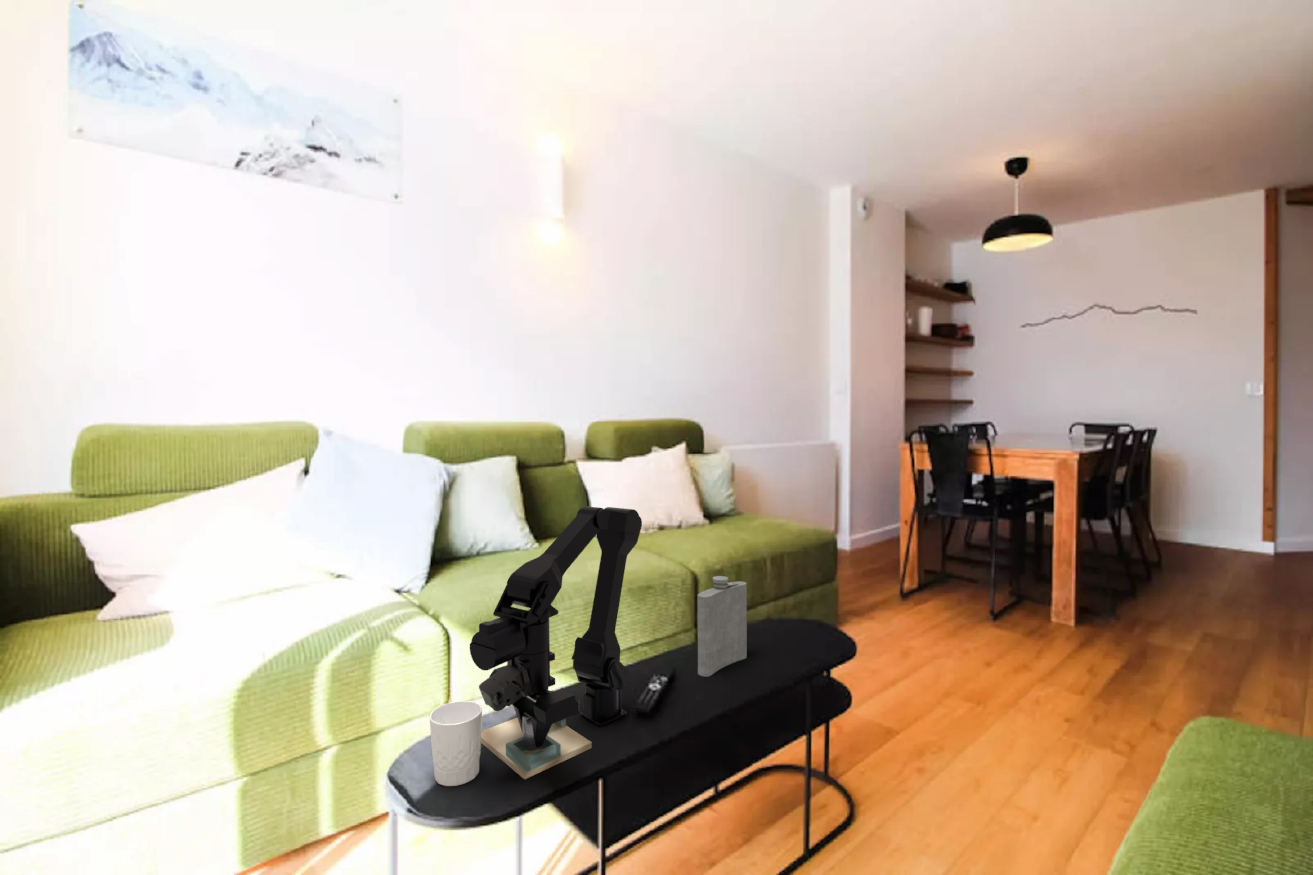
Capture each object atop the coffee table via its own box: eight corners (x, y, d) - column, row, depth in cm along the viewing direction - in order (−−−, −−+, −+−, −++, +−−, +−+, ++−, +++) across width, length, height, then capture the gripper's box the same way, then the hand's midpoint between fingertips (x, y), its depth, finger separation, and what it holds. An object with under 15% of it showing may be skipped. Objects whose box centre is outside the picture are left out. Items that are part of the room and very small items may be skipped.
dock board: (540, 713, 115) (539, 690, 115) (591, 748, 103) (591, 721, 103) (476, 738, 106) (475, 713, 106) (524, 779, 94) (524, 750, 94)
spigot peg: (536, 738, 101) (535, 708, 101) (546, 745, 98) (546, 715, 98) (519, 745, 99) (518, 715, 98) (529, 753, 96) (528, 722, 96)
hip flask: (706, 677, 130) (705, 586, 129) (691, 672, 133) (691, 582, 132) (749, 656, 141) (749, 572, 141) (735, 652, 144) (735, 569, 144)
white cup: (488, 759, 100) (487, 699, 99) (475, 788, 92) (474, 724, 91) (440, 760, 99) (439, 700, 99) (423, 790, 91) (422, 725, 91)
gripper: (459, 645, 99) (461, 738, 100) (517, 681, 86) (518, 788, 86) (519, 629, 107) (520, 715, 107) (581, 659, 93) (582, 758, 94)
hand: (533, 742), depth 99 cm, fingers closed on spigot peg, 3 cm apart
